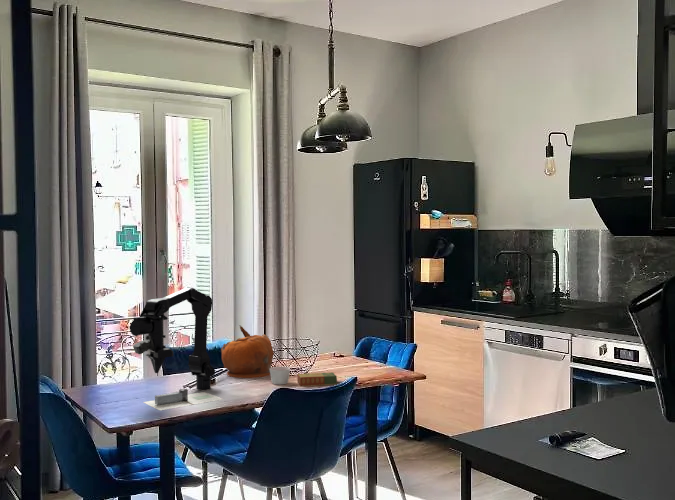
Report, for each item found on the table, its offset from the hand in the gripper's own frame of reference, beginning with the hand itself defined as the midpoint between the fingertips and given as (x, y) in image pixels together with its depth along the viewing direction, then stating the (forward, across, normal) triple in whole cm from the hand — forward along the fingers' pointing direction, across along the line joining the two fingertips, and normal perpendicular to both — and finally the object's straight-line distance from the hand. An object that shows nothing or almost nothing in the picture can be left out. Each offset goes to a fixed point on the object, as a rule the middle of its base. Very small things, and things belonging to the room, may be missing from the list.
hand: (156, 372), depth 261 cm
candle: (+12, 0, +56) cm, 57 cm away
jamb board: (+12, +6, +8) cm, 16 cm away
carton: (+12, +12, +68) cm, 70 cm away
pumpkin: (+12, -26, +57) cm, 64 cm away
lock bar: (+11, +6, +3) cm, 13 cm away
